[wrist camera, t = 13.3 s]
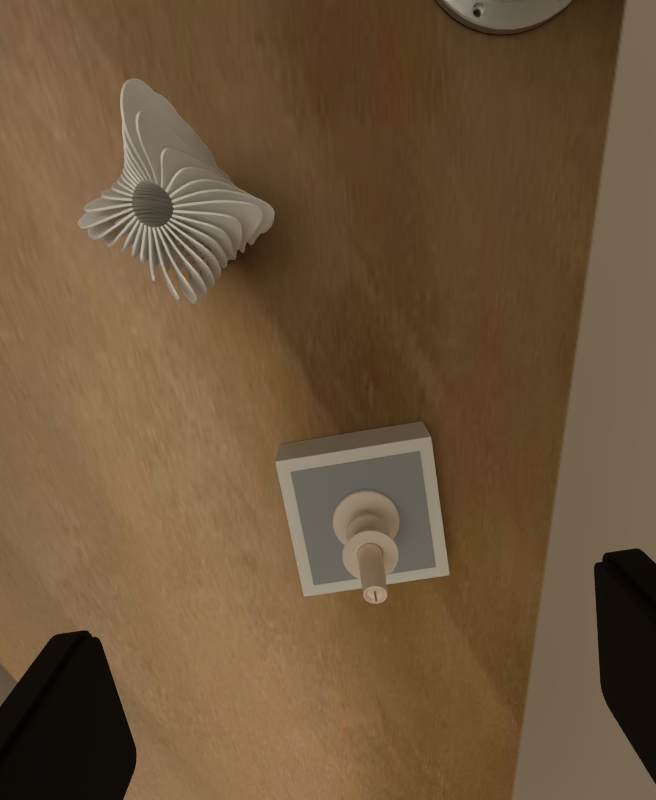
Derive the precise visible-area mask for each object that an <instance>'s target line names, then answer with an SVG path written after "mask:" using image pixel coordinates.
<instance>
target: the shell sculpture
mask: <svg viewBox="0 0 656 800" xmlns="http://www.w3.org/2000/svg"><path fill="white" fill-rule="evenodd" d="M120 108H121V116H122V121H123V122H122V135H123V140H124V151H125V154H124V159H125V161H124V168H123V172H122V174H121V176H120V177H119V178H118V180H117V182H114V183H112V185H111V188H110V189H107V190H104V191H103V192H101V197H100V198H97V199H95V200H93V201H91V202H89V203H87V204H86V205H85V206H84V211H86V213H85V214H84V215H83V216H82V217H81V218H80V219H79V221H78V226H79V228H81V229H85V228H88V236H89V237H90V238H91V239H99V238H101V237H103V236H104V237H103V241H104V243H105V244H106V245H107V246H108V247H110V246H112V245H113V244H114V243H115V242H116V241H117V240H119V239H120V238H121V237H123V236H124V235H126V234H128V233H129V232H130V233H129V235H128V237H127V239H126V241H125V243H124V244H123V245H122V248H121V251H122V252H124V251H125V250H126V249H127V248H128V247H129V246H130V245H131V244H133V243H134V245H133V248H132V254H131V255H132V257H134V258H135V257H136V256H137V255H138V254H139V253H140V263H141V264H144V263H145V262H146V261H148V260H149V262H150V271H151V276H152V280H153V281H155V276H154V273H155V269H156V267H157V265H158V264H159V263H161V266H162V269H163V272H164V275H165V281H166V284H167V287H168V289H169V290H170V292H171V293H172V295H173V296H174V298H175V299H176V300H177V301H179V300H180V299H179V296H178V294H177V293H176V291H175V289H174V287H173V285H172V283H171V281H170V279H169V277H168V275H167V272H168V270H169V268H170V267H171V266H172V265H173V266H174V268H175V271H176V274H177V281H178V285H179V287H180V289H181V290H182V292H183V293H184V295H185V296H186V297H187V299H188V300H189V301H190V302H192V303H196V302H197V297H196V295H197V296H198V297H200V298H204V297H206V296H207V290H210V289H212V288H213V287H214V285H215V280H214V279H218V278H220V276H221V268H220V266H221V267H222V268H223V269H224V268H225V267H226V266H227V261H229V260H235V259H236V255H237V251H238V250H240V252H241V253H243V252H244V251H245V245H246V243H247V242H248V243H249V244H250V245H253V244H254V242H255V240H256V239H257V237H258V236H259V235H260V234H261V233H265V232H267V231H268V230H269V229H270V227H271V226H272V224H273V222H274V214H275V213H274V209H273V208H272V206H270V205H269V204H268V203H266V202H265V201H263V200H261V199H259V198H256V197H254V196H252V195H251V194H249V193H247V192H245V191H243V190H241V189H239V188H238V187H237V186H235V185H234V184H233V183H232V181H231V179H230V177H229V176H228V175H227V174H226V173H225V172H223V171H222V170H221V169H219V168H218V167H217V165H216V161H215V159H214V157H213V155H212V153H211V152H210V150H209V149H208V148H207V146H206V145H205V144H204V143H203V141H202V140H201V139H200V137H199V136H198V135H197V134H196V132H195V131H194V130H193V129H192V128H191V126H190V125H189V124H188V123H187V122H186V121H184V120H183V119H182V118H181V117H180V116H179V114H178V113H177V111H176V110H175V109H174V107H173V106H172V105H171V104H170V102H169V101H168V100H167V99H166V98H165V97H163V96H162V95H160V94H159V93H156V92H154V91H153V90H152V89H151V88H150V87H149V86H148V85H147V84H146V83H145V82H143V81H142V80H140V79H136V78H133V79H129V80H127V81H126V82H125V83H124V85H123V87H122V91H121V97H120ZM123 217H125V218H123ZM120 218H123V219H122V220H121V221H119V222H118V223H116V224H113V223H114V222H115V221H116V220H118V219H120ZM177 243H178V244H177ZM172 246H173V247H172ZM183 247H184V248H185V251H180V250H181V249H182V248H183ZM164 249H165V251H164ZM196 252H197V254H198V255H197V254H196ZM187 253H189V254H190V256H188V257H184V256H185V255H186V254H187ZM167 256H169V257H167ZM201 256H203V257H204V258H203V260H202V259H201ZM192 258H193V259H194V260H195V261H194V262H193V263H192V264H191V265H190V261H191V260H192ZM207 261H208V263H209V265H210V268H211V270H210V269H209V267H208V266H207V265H206V263H207ZM176 262H177V263H176ZM218 262H219V263H218ZM175 263H176V264H175ZM219 264H220V265H219ZM197 265H198V266H199V268H200V274H201V277H200V276H199V274H198V273H197V272H196V270H195V269H196V267H197ZM186 267H187V269H188V274H189V283H188V282H187V280H186V279H185V278H184V276H183V275H182V273H181V271H182V270H184V269H185V268H186ZM189 284H190V285H189ZM195 294H196V295H195Z"/></svg>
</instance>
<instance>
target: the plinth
mask: <svg viewBox="0 0 656 800" xmlns="http://www.w3.org/2000/svg"><path fill="white" fill-rule="evenodd" d="M275 462H276V467H277V472H278V477H279V481H280V486H281V491H282V495H283V500H284V505H285V510H286V514H287V519H288V524H289V528H290V533H291V538H292V542H293V547H294V552H295V557H296V561H297V566H298V571H299V575H300V580H301V585H302V590H303V594H304V597H305V596H312V595H319V594H326V593H332V592H339V591H346V590H353V589H359V588H362V584H361V579H358V578H356V577H354V576H353V575H352V574H351V573H349V572H348V571H347V569H346V567H345V566H344V563H343V559H342V556H343V549H344V546H345V545H343V544H342V543H341V542H340V541H339V539H338V538H337V536H336V535H335V532H334V528H333V514H334V511H335V508H336V506H337V505H338V503H339V502H340V500H342V499H343V498H344V497H345V496H346V495H348V494H350V493H352V492H354V491H358V490H374V491H378V492H381V493H383V494H384V495H386V496H388V497H389V498H390V499H391V500H392V501H393V503H394V504H395V506H396V508H397V510H398V514H399V518H400V522H399V529H398V532H397V535H396V536H395V538H394V539H393V541H394V542H395V544H396V546H397V549H398V553H399V554H398V562H397V565H396V567H395V568H394V570H393V571H392V572H391V573H390V574H389V575H387V576H386V584H393V583H400V582H406V581H413V580H420V579H427V578H433V577H440V576H447V575H449V568H448V560H447V553H446V545H445V538H444V530H443V523H442V515H441V507H440V500H439V492H438V485H437V477H436V470H435V462H434V455H433V447H432V440H431V436H430V434H429V432H428V430H427V428H426V426H425V425H424V423H423V421H420V422H414V423H408V424H402V425H395V426H389V427H383V428H377V429H371V430H365V431H359V432H353V433H346V434H340V435H334V436H328V437H322V438H316V439H310V440H304V441H298V442H291V443H285V444H280V447H279V450H278V454H277V458H276V461H275Z"/></svg>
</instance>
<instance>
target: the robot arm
mask: <svg viewBox="0 0 656 800" xmlns="http://www.w3.org/2000/svg"><path fill="white" fill-rule="evenodd" d="M436 1H437V2H438V4H439V5H440V6H441V7H442V8H443V9H444V10H445V11H446V12H447V13H448V14H449V15H450V16H451V17H453V18H454V19H456V20H457V21H459V22H460V23H462V24H464V25H465V26H467V27H469V28H472V29H475V30H478V31H480V32H483V33H491V34H499V35H502V34H513V33H520V32H523V31H526V30H529V29H533V28H535V27H537V26H539V25H541V24H543V23H545V22H547V21H548V20H550V19H552V18H553V17H554V16H556V15H557V14H558V13H559V12H561V11H562V10H563V9H564V8H566V7H567V6H568V5H569V4H570V2H571V1H572V0H560V1H559V0H436ZM474 12H477V13H478V14H479V17H475V16H474V15H473V13H474ZM594 576H595V593H596V612H597V628H598V647H599V665H600V683H601V689H602V693H603V696H604V699H605V701H606V703H607V705H608V707H609V709H610V710H611V712H612V714H613V716H614V717H615V719H616V720H617V722H618V723H619V725H620V727H621V728H622V730H623V732H624V733H625V735H626V737H627V738H628V740H629V741H630V743H631V744H632V746H633V748H634V750H635V751H636V753H637V754H638V756H639V758H640V759H641V761H642V763H643V764H644V766H645V768H646V769H647V771H648V772H649V774H650V776H651V777H652V779H653V780H654V782H655V784H656V563H655V562H654V561H652V560H651V559H650V558H649V557H648V556H647V555H646V554H645V553H644V552H643V551H641V550H640V549H630V550H622V551H615V552H610V553H605V554H604V556H603V561H602V562H598V563H596V564H595V566H594ZM135 765H136V747H135V744H134V741H133V738H132V735H131V732H130V729H129V726H128V723H127V719H126V716H125V713H124V710H123V707H122V704H121V701H120V698H119V695H118V692H117V689H116V686H115V683H114V680H113V677H112V674H111V671H110V668H109V665H108V662H107V659H106V656H105V653H104V650H103V647H102V644H101V642H100V640H99V639H98V638H97V637H92V635H91V634H90V633H89V632H88V631H85V630H84V631H77V632H70V633H63V634H57V635H55V636H53V637H52V638H51V639H50V640H49V642H48V643H47V644H46V646H45V647H44V648H43V650H42V651H41V652H40V654H39V655H38V656H37V658H36V659H35V661H34V662H33V663H32V665H31V666H30V667H29V669H28V670H27V671H26V673H25V674H24V675H23V677H22V678H21V679H20V681H19V682H18V684H17V685H16V686H15V688H14V689H13V690H12V692H11V693H10V694H9V696H8V697H7V699H6V700H5V701H4V703H3V704H2V705H1V707H0V800H123V799H124V796H125V793H126V791H127V788H128V786H129V783H130V780H131V778H132V775H133V773H134V769H135Z"/></svg>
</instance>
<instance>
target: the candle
mask: <svg viewBox="0 0 656 800" xmlns="http://www.w3.org/2000/svg"><path fill="white" fill-rule="evenodd" d="M399 522H400V518H399V514H398V510H397V508H396V506H395V504H394V503H393V501H392V500H391V499H390V498H389V497H388V496H386V495H384V494H383V493H381V492H378V491H374V490H358V491H354V492H352V493H350V494H348V495H346V496H345V497H344V498H343V499H342V500H340V502H339V503H338V505H337V506H336V508H335V511H334V514H333V528H334V532H335V535H336V536H337V538H338V539H339V541H340V542H341V543H342V544H343V545H345V546H344V549H343V556H342V559H343V563H344V566H345V567H346V569H347V571H348V572H349V573H351V574H352V575H353V576H354V577H356V578H358V579H361V584H362V590H363V596H364V598H365V600H366V601H368V602H370V603H375V604H377V603H381V602H383V601H385V599H386V598H387V586H386V576H387V575H389V574H390V573H391V572H392V571H393V570H394V568H395V567H396V565H397V562H398V554H399V553H398V549H397V546H396V544H395V542H394V541H393V539H394V538H395V536H396V535H397V532H398V529H399Z"/></svg>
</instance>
